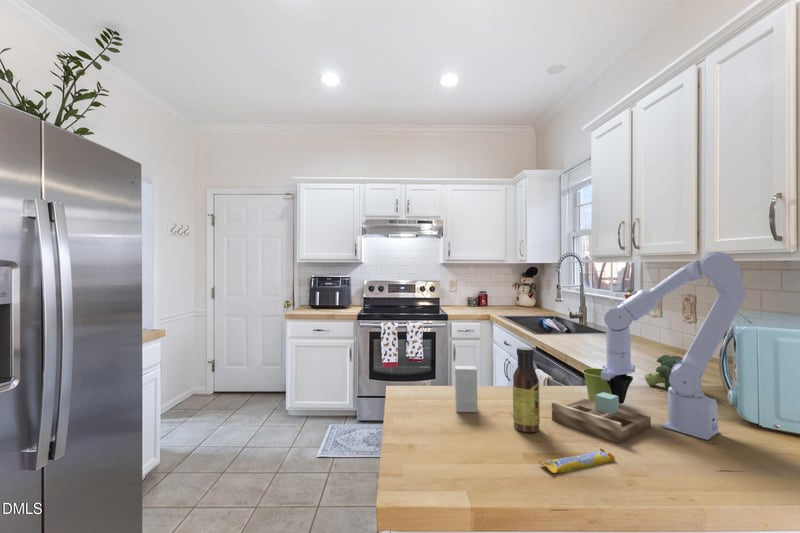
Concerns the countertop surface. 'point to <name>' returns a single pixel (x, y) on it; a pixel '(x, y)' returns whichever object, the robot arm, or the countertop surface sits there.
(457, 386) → the skincare box
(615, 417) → the tray
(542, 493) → the countertop surface
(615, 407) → the block
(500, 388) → the countertop surface
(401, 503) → the countertop surface
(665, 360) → the vegetable
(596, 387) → the plant pot
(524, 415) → the sauce bottle
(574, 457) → the candy bar
